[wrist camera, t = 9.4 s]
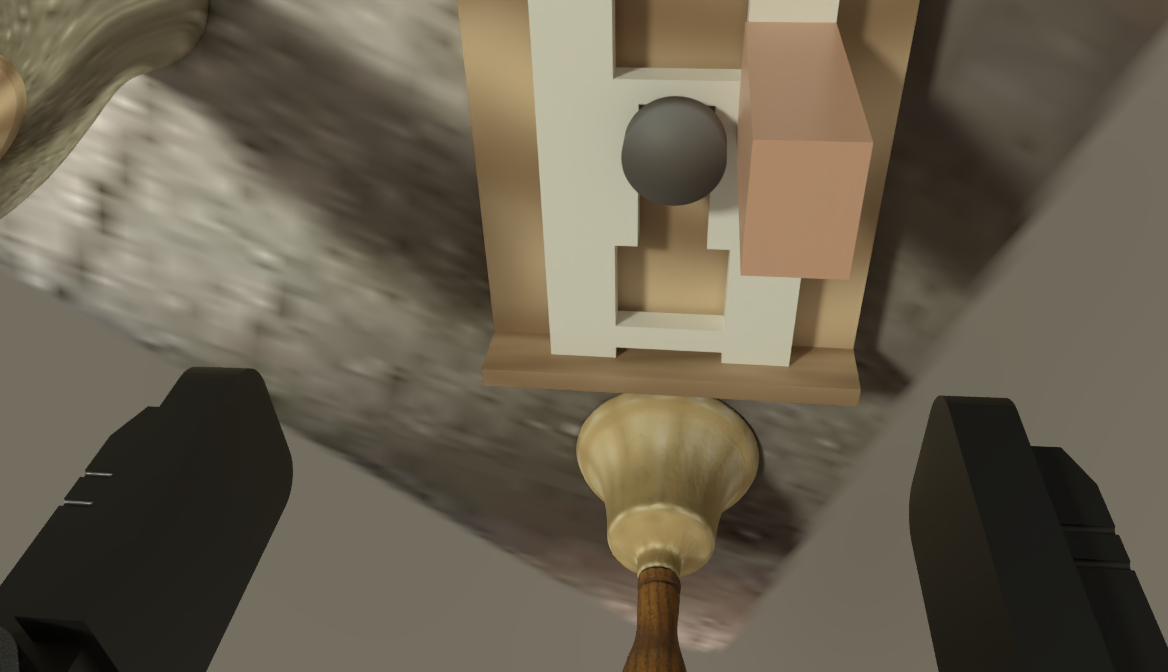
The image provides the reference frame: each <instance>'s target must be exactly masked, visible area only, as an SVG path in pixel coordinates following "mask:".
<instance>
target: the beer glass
mask: <svg viewBox="0 0 1168 672" xmlns="http://www.w3.org/2000/svg"><path fill="white" fill-rule="evenodd" d="M208 9H209V0H0V220H1V219H2V218H4V217H5V216H7V215H8V214H9V213H11V212H12V211H13V210H14V209H15V208H16V207H17V206H19V205H20V204H21V203H22V202H23V201H24V200H26V199H27V198H28V197H29V196H30V195H31V194H32V193H34V192H35V191H36V190H37V189H38V188H39V187H40V186H42V185H43V184H44V183H45V182H46V180H47V179H48V178H49V177H50V176H51V175H52V174H53V173H54V171H55V170H56V169H57V168H58V167H59V166H60V165H61V163H62V162H63V161H64V160H65V159H66V158H67V157H68V156H69V154H70V153H71V152H72V151H73V149H74V148H75V147H76V145H77V144H78V143H79V141H80V140H81V139H82V137H83V136H84V135H85V134H86V132H87V131H88V130H89V128H90V127H91V126H92V124H93V123H94V121H95V120H96V119H97V117H98V116H99V114H100V113H101V112H102V110H103V109H104V107H105V106H106V105H107V103H108V102H109V101H110V100H111V98H112V97H113V96H114V95H115V93H116V92H117V91H118V90H119V89H120V88H121V87H122V86H123V85H124V84H125V83H126V82H128V81H129V80H131V79H133V78H135V77H137V76H139V75H142V74H145V73H148V72H151V71H155V70H157V69H160V68H163V67H166V66H168V65H170V64H173V63H175V62H176V61H178V60H180V59H181V58H183V57H184V56H186V55H187V54H188V53H189V52H190V51H191V50H192V49H193V48H194V47H195V45H196V44H197V43H198V41H199V40H200V38H201V36H202V34H203V32H204V29H205V26H206V23H207V18H208Z"/></svg>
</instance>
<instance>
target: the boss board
mask: <svg viewBox="0 0 1168 672" xmlns="http://www.w3.org/2000/svg"><path fill="white" fill-rule="evenodd" d="M748 2H749V0H615V38H616V67H630V68H697V69H742V56H743V43H744V30H745V22H747V15H748ZM919 2H920V0H839V7H838V14H837V22H836V23H837V26H838V29H839V33H840V36H841V39H842V42H843V46H844V49H845V52H846V55H847V59H848V62H849V65H850V68H851V72H852V75H853V78H854V81H855V85H856V88H857V91H858V94H859V98H860V101H861V104H862V107H863V111H864V114H865V117H866V120H867V124H868V127H869V130H870V133H871V137H872V140H873V147H872V153H871V159H870V164H869V170H868V176H867V181H866V187H865V192H864V198H863V204H862V209H861V215H860V221H859V226H858V232H857V238H856V243H855V249H854V255H853V260H852V266H851V272H850V277H849V280H839V279H814V278H801V282H800V289H799V296H798V304H797V311H796V318H795V325H794V332H793V340H792V347H791V354H790V361H789V367H787V366H768V365H749V364H729V363H721V353H718V352H699V351H679V350H659V349H639V348H619V347H617V353H616V358H613V357H594V356H575V355H555V354H551V342H550V327H549V312H548V297H547V282H546V267H545V252H544V237H543V222H542V206H541V191H540V176H539V161H538V146H537V131H536V116H535V101H534V86H533V70H532V55H531V40H530V25H529V10H528V0H457V3H458V12H459V21H460V30H461V39H462V48H463V56H464V65H465V74H466V83H467V92H468V101H469V110H470V119H471V127H472V136H473V145H474V154H475V163H476V172H477V181H478V190H479V199H480V207H481V216H482V225H483V234H484V243H485V252H486V261H487V270H488V278H489V287H490V296H491V305H492V314H493V323H494V334H493V337H492V340H491V343H490V346H489V349H488V352H487V355H486V358H485V361H484V364H483V367H482V374H483V382H484V385H488V386H506V387H524V388H542V389H559V390H577V391H595V392H613V393H631V394H648V395H666V396H684V397H702V398H719V399H737V400H755V401H773V402H791V403H808V404H826V405H844V406H858V401H859V397H860V392H861V388H860V382H859V377H858V372H857V366H856V361H855V356H854V350H853V348H854V342H855V337H856V332H857V327H858V321H859V316H860V311H861V306H862V300H863V295H864V290H865V285H866V279H867V274H868V269H869V264H870V259H871V253H872V248H873V243H874V238H875V232H876V227H877V222H878V217H879V211H880V206H881V201H882V196H883V191H884V185H885V180H886V175H887V170H888V164H889V159H890V154H891V149H892V143H893V138H894V133H895V128H896V122H897V117H898V112H899V107H900V102H901V96H902V91H903V86H904V81H905V75H906V70H907V65H908V60H909V54H910V49H911V44H912V39H913V34H914V28H915V23H916V18H917V13H918V7H919ZM621 162H622V168H623V172H624V174H625V177H626V179H627V180H628V182H629V184H630V185H631V186H632V187H633V189H634V190H635V191H636V192H638V193H639V194H640V232H639V239H638V247H637V246H617V263H618V311H638V312H660V313H682V314H704V315H724V307H725V294H726V282H727V269H728V256H729V250H717V249H707V231H708V215H709V199H710V193H711V192H712V191H713V190H714V189H715V188H716V186H717V185H718V184H719V182H720V181H721V179H722V177H723V175H724V172H725V169H726V164H727V138H726V133H725V129H724V126H723V124H722V122H721V120H720V119H719V117H718V116H717V115H716V114H715V106H706V105H705V104H703V103H702V102H700V101H698V100H695V99H692V98H688V97H684V96H668V97H663V98H659V99H656V100H654V101H652V102H650V103H648V104H641V109H640V110H639V111H638V112H637V113H636V114H635V115H634V116H633V118H632V119H631V120H630V122H629V124H628V126H627V129H626V132H625V137H624V142H623V147H622V153H621Z"/></svg>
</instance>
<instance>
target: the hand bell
mask: <svg viewBox="0 0 1168 672" xmlns="http://www.w3.org/2000/svg"><path fill="white" fill-rule="evenodd" d="M576 453H577V460H578V464H579V467H580V470H581V472H582V474H583V476H584V478H585V480H586V482H587V483H588V485H589V486H590V488H591V489H592V490H593V492H594V493H595V494H596V495H597V496H598V497H599V498H600V499H601V500H603V501H604V502H605V506H606V513H607V538H608V543H609V546H610V549H611V551H612V553H613V555H614V556H615V557H616V559H617V560H618V561H619V562H620V563H621V564H622V565H624V566H625V567H626V568H628V569H630V570H631V571H633V572H635V573H637V576H638V582H637V586H638V604H637V631H636V637H635V641H634V644H633V647H632V649H631V651H630V653H629V656H628V658H627V661H626V664H625V666H624V669H623V672H686V668H685V664H684V661H683V658H682V654H681V651H680V647H679V642H678V635H677V623H678V614H679V602H680V595H679V594H680V590H681V584H680V580H679V578H680V577H682V576H685V575H688V574H691V573H694V572H695V571H697V570H698V569H700V568H701V567H702V566H703V565H705V564H706V563H707V561H708V560H709V559H710V557H711V555H712V553H713V551H714V548H715V542H716V534H717V529H718V524H719V520H720V517H721V514H722V512H724V511H725V510H727V509H728V508H730V507H731V506H733V505H734V504H735V503H736V502H738V501H739V500H740V499H741V498H742V496H743V495H744V494H745V493H746V492H747V490H748V489H749V487H750V486H751V484H752V483H753V481H754V479H755V477H756V474H757V470H758V465H759V450H758V445H757V441H756V439H755V436H754V434H753V432H752V431H751V429H750V428H749V426H748V425H747V423H746V422H745V421H744V420H743V419H742V418H741V416H740V415H738V414H737V413H736V412H735V411H734V410H733V409H731V408H730V407H728V406H727V405H726V404H725V403H723V402H722V401H720V400H718V399H716V398H702V397H684V396H666V395H648V394H631V393H623V394H620V395H618V396H615V397H614V398H612V399H610V400H608V401H606V402H605V403H603V404H602V405H600V406H599V407H598V408H597V409H595V410H594V411H593V412H592V413H591V414H590V416H589V417H588V418H587V420H586V421H585V422H584V424H583V425H582V427H581V430H580V432H579V436H578V440H577V447H576Z"/></svg>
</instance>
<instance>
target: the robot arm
mask: <svg viewBox="0 0 1168 672" xmlns="http://www.w3.org/2000/svg"><path fill="white" fill-rule="evenodd" d="M292 466H293V465H292V458H291V454H290V451H289V448H288V445H287V442H286V440H285V437H284V434H283V431H282V429H281V426H280V423H279V421H278V418H277V415H276V412H275V410H274V407H273V404H272V401H271V399H270V396H269V393H268V390H267V388H266V385H265V382H264V380H263V378H262V376H261V375H260V373H259V372H257V371H256V370H254V369H250V368H222V367H191V368H189V369H188V370H186V371H185V372H184V373H183V374H182V375H181V377H180V378H179V379H178V381H177V382H176V384H175V385H174V387H173V388H172V390H171V391H170V392H169V394H168V395H167V397H166V398H165V400H164V401H163V402H162V404H161V405H160V407H149V406H148V407H147V408H145V409H144V410H143V411H141V412H140V413H139V414H138V415H136V416H135V417H134V418H133V419H131V420H130V421H129V422H127V423H126V424H125V425H123V426H122V427H121V428H120V429H118V430H117V431H116V432H115V433H113V434H112V435H111V436H110V437H109V438H108V440H107V441H106V442H105V444H104V445H103V446H102V448H101V449H100V450H99V452H98V453H97V455H96V456H95V457H94V459H93V460H92V461H91V463H90V464H89V466H88V467H87V468H86V470H85V471H86V474H85V477H80V478H79V479H78V481H77V482H76V483H75V485H74V486H73V487H72V489H71V490H70V491H69V493H68V494H67V495H66V497H65V498H64V499H65V504H64V505H63V506H59V507H58V508H57V509H56V510H55V512H54V513H53V515H52V516H51V517H50V519H49V520H48V522H47V523H46V524H45V526H44V527H43V528H42V530H41V531H40V532H39V534H38V535H37V536H36V538H35V539H34V541H33V542H32V543H31V545H30V546H29V547H28V549H27V550H26V552H25V553H24V554H23V556H22V557H21V558H20V560H19V561H18V562H17V564H16V565H15V567H14V568H13V569H12V571H11V572H10V573H9V575H8V576H7V577H6V579H5V580H4V581H3V583H2V584H1V586H0V672H206V671H207V669H208V667H209V664H210V662H211V660H212V658H213V656H214V654H215V652H216V650H217V648H218V646H219V644H220V642H221V639H222V637H223V635H224V633H225V631H226V629H227V627H228V625H229V623H230V621H231V619H232V616H233V614H234V612H235V610H236V608H237V606H238V604H239V602H240V600H241V598H242V596H243V594H244V591H245V589H246V587H247V585H248V583H249V581H250V579H251V577H252V575H253V573H254V571H255V569H256V566H257V565H258V562H259V560H260V558H261V556H262V554H263V552H264V550H265V548H266V546H267V544H268V542H269V539H270V537H271V535H272V533H273V531H274V529H275V527H276V525H277V523H278V521H279V519H280V516H281V514H282V512H283V510H284V508H285V506H286V504H287V501H288V499H289V495H290V491H291V486H292V478H293V467H292ZM909 524H910V535H911V541H912V546H913V551H914V556H915V561H916V565H917V570H918V575H919V580H920V584H921V589H922V594H923V599H924V603H925V608H926V613H927V618H928V623H929V628H930V632H931V637H932V642H933V647H934V652H935V656H936V661H937V666H938V671H939V672H1168V647H1167V645H1166V642H1165V640H1164V638H1163V635H1162V633H1161V631H1160V628H1159V626H1158V624H1157V621H1156V620H1155V617H1154V615H1153V612H1152V610H1151V608H1150V605H1149V603H1148V601H1147V598H1146V596H1145V594H1144V592H1143V590H1142V587H1141V585H1140V583H1139V580H1138V578H1137V576H1136V573H1135V571H1133V570H1131V569H1130V559H1129V557H1128V555H1127V552H1126V550H1125V548H1124V545H1123V543H1122V541H1121V539H1120V536H1119V535H1116V534H1115V525H1114V523H1113V520H1112V518H1111V516H1110V513H1109V511H1108V509H1107V506H1106V504H1105V502H1104V499H1103V497H1102V495H1101V493H1100V490H1099V488H1098V486H1097V484H1096V483H1095V482H1094V481H1093V480H1092V479H1091V478H1090V477H1089V476H1088V475H1087V474H1086V473H1085V472H1084V471H1083V470H1082V469H1081V468H1080V466H1079V465H1078V464H1077V463H1076V462H1075V461H1074V460H1073V459H1072V458H1071V457H1070V456H1069V455H1068V454H1067V453H1066V452H1065V451H1064V450H1063V449H1062V448H1060V447H1040V446H1030V443H1029V440H1028V438H1027V435H1026V432H1025V430H1024V427H1023V424H1022V422H1021V419H1020V416H1019V414H1018V411H1017V409H1016V406H1015V405H1014V403H1013V402H1012V401H1011V400H1010V399H1008V398H990V397H962V396H938V397H937V398H936V399H935V400H934V402H933V405H932V408H931V411H930V415H929V419H928V423H927V427H926V431H925V435H924V439H923V443H922V447H921V451H920V455H919V459H918V463H917V466H916V470H915V474H914V478H913V482H912V486H911V492H910V501H909Z"/></svg>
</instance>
